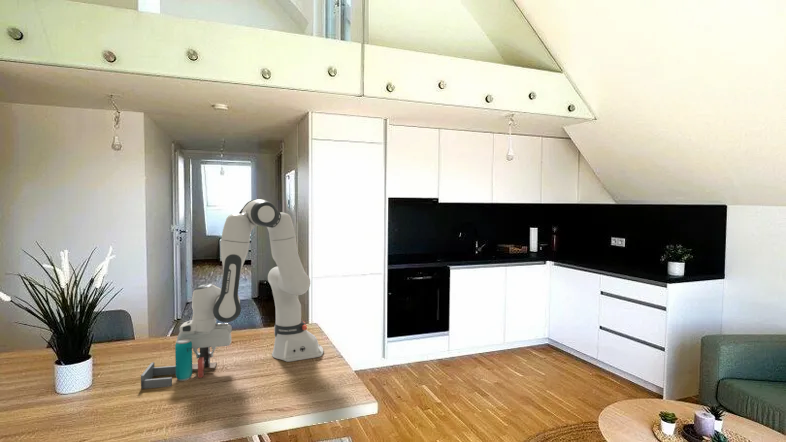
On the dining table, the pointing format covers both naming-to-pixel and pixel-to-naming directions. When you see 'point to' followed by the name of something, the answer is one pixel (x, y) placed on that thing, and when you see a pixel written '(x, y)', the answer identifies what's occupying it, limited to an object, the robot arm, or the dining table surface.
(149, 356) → the dining table surface
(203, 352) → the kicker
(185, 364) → the beverage can
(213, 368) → the brown long flat block
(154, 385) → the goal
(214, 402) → the dining table surface
